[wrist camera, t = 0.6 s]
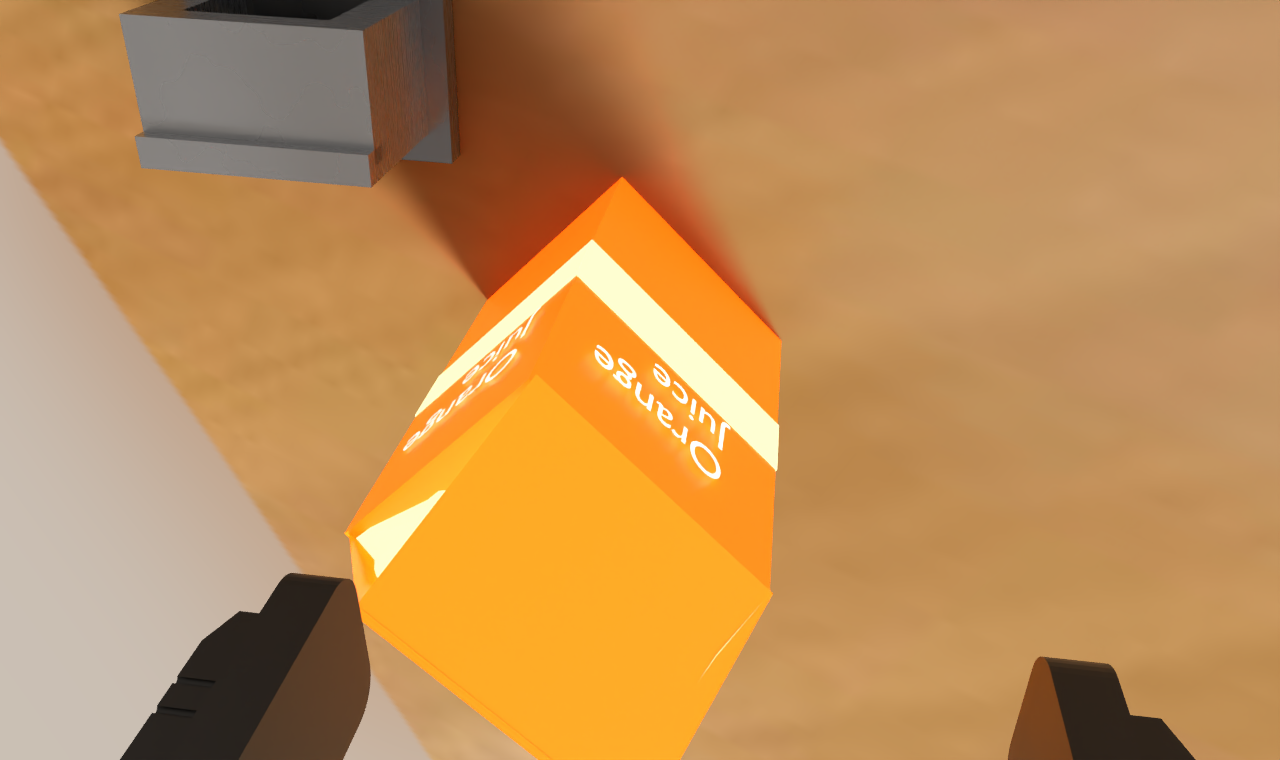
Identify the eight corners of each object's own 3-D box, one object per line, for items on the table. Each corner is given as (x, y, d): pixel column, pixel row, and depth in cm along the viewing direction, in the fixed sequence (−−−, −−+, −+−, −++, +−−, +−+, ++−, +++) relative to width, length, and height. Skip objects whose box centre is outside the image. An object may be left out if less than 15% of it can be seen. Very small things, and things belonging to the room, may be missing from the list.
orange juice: (640, 447, 43) (529, 895, 26) (483, 300, 40) (244, 687, 23) (786, 339, 39) (771, 772, 22) (624, 171, 37) (465, 512, 20)
